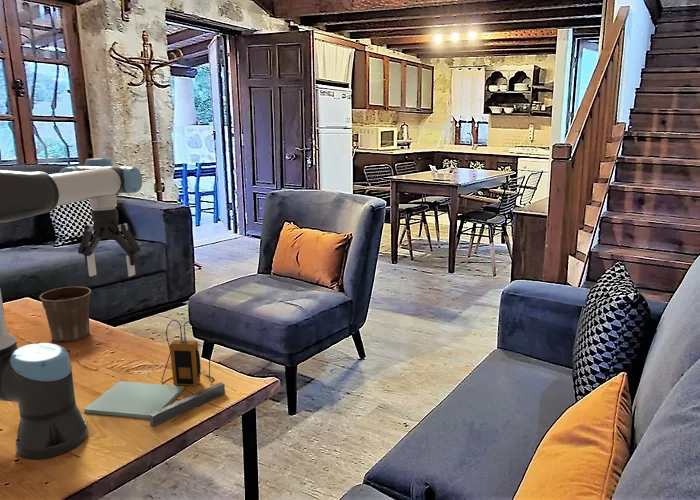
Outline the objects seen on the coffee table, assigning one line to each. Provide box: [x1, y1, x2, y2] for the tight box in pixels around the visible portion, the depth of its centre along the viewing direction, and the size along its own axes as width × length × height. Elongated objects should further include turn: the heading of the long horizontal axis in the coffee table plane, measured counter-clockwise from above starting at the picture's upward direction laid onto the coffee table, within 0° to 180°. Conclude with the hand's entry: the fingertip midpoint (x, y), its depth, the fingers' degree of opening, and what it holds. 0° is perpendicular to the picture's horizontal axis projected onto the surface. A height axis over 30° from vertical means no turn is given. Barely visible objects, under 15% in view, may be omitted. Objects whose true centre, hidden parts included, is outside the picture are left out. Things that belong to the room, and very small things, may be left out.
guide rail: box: [149, 382, 226, 428], centre depth 145 cm, size 22×2×3 cm, turn 140°
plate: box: [83, 380, 184, 420], centre depth 149 cm, size 16×20×1 cm
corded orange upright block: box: [161, 319, 215, 387], centre depth 160 cm, size 15×10×20 cm
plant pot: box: [39, 286, 92, 343], centre depth 194 cm, size 16×16×16 cm
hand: (112, 275), depth 173 cm, fingers open, 13 cm apart
